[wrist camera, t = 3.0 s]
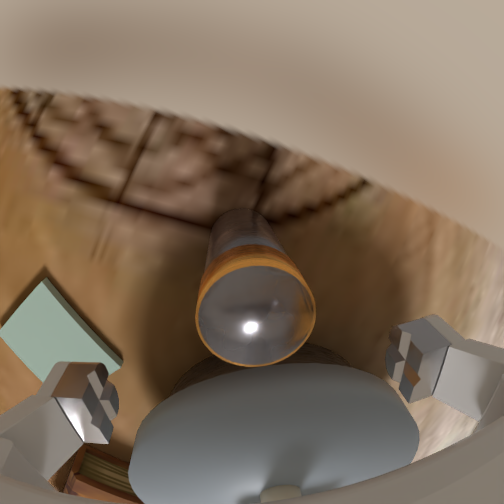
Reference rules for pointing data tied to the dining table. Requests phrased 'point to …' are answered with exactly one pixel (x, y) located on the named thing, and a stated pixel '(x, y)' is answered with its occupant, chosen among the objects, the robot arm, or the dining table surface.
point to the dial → (271, 436)
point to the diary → (100, 477)
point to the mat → (53, 334)
